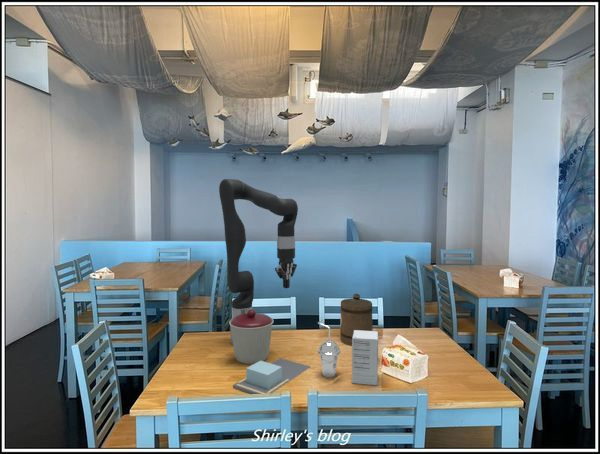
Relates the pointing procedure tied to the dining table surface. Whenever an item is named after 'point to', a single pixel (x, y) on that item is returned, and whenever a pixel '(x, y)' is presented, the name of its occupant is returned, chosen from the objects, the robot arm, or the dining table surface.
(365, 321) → the wooden container
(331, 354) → the cup with straw
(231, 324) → the canister
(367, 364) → the supplement box
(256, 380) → the carton
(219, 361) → the dining table surface
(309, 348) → the dining table surface
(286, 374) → the display board
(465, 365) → the dining table surface
